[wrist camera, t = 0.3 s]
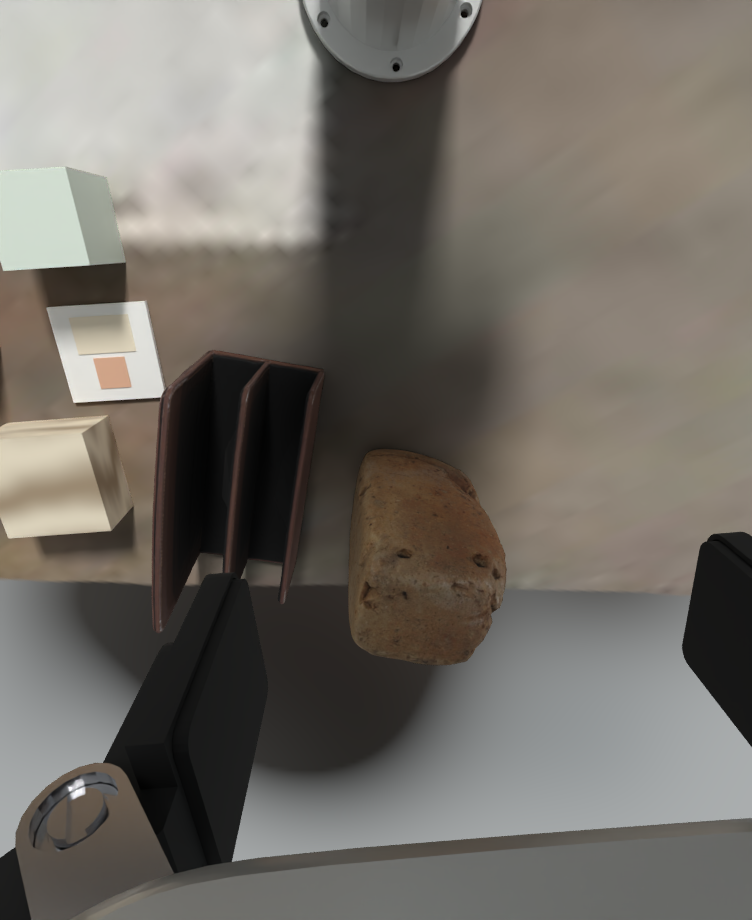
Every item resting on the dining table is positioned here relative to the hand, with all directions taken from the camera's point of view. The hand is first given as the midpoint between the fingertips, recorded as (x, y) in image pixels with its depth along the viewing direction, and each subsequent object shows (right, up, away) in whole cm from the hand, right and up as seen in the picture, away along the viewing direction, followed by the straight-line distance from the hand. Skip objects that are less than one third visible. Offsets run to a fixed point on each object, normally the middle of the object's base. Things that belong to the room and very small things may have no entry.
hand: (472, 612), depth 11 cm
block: (+1, +1, +39) cm, 39 cm away
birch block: (-30, +3, +38) cm, 48 cm away
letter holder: (-13, +3, +38) cm, 40 cm away
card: (-24, +12, +33) cm, 43 cm away
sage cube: (-25, +21, +30) cm, 44 cm away
